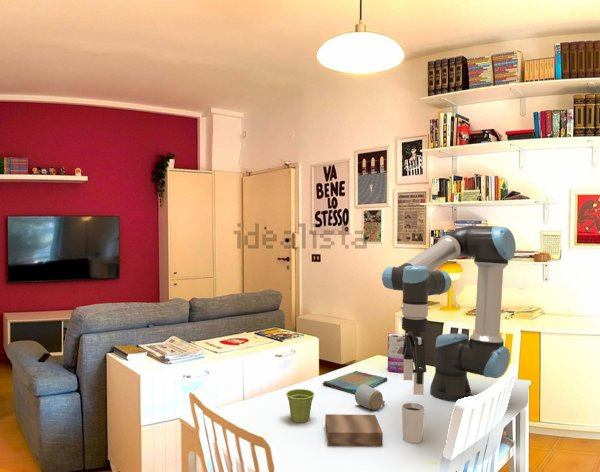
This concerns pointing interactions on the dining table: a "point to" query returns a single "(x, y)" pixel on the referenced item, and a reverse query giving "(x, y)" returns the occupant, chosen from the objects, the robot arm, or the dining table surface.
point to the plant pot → (300, 404)
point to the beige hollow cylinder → (412, 422)
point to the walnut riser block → (353, 430)
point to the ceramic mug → (369, 397)
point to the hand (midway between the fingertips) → (412, 386)
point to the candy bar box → (395, 352)
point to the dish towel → (354, 381)
